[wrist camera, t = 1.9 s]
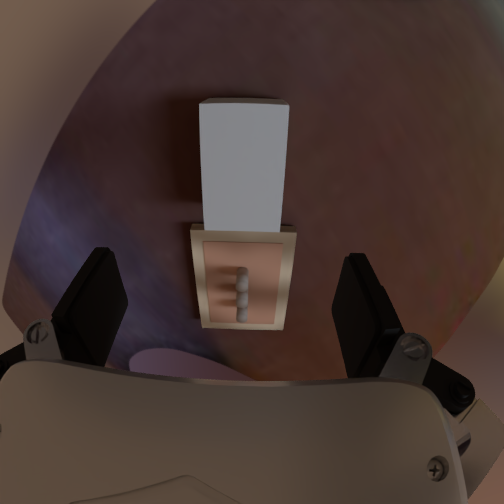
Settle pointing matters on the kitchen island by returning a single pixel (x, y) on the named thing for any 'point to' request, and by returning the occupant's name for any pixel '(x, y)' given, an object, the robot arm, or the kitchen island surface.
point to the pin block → (243, 276)
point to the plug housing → (243, 162)
